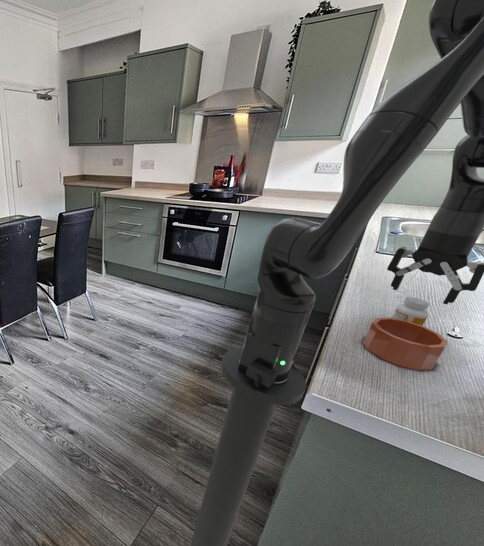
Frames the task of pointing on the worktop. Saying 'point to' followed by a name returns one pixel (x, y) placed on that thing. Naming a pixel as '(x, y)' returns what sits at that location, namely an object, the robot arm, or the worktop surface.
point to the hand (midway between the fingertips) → (419, 296)
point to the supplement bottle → (412, 310)
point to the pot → (404, 343)
